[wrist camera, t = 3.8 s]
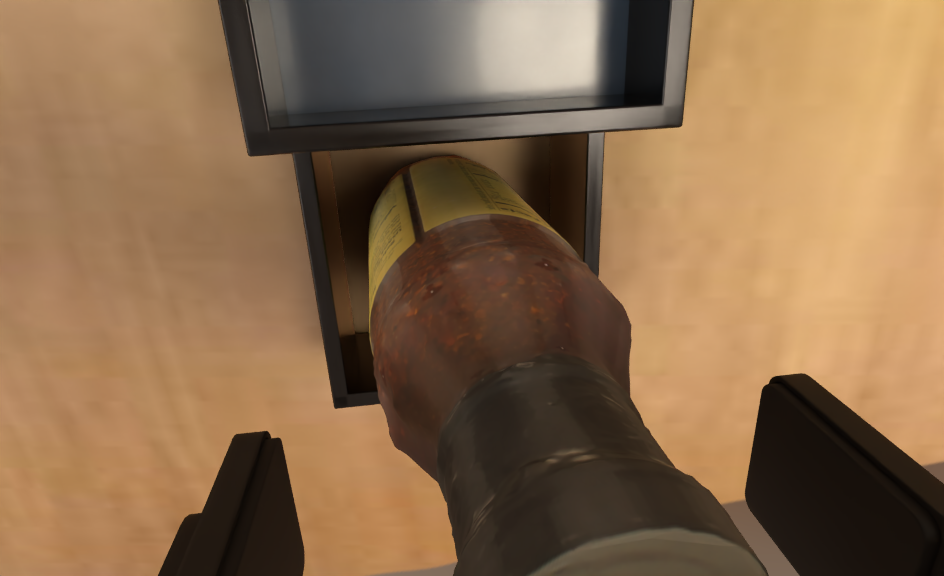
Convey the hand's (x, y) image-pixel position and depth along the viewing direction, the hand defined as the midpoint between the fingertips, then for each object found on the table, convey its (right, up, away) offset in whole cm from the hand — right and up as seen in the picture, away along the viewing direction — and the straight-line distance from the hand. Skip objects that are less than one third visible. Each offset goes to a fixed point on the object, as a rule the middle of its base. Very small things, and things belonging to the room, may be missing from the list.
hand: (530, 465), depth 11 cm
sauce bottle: (-2, +6, +14) cm, 16 cm away
